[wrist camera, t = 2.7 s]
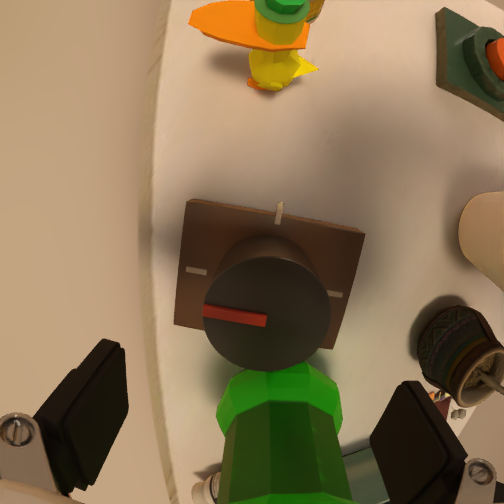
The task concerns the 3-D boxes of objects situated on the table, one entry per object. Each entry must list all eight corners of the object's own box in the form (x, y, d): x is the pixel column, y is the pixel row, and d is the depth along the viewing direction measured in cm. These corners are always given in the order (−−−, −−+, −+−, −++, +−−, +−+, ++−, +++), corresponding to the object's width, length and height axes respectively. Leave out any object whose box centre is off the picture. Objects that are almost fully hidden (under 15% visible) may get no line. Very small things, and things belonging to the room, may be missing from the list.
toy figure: (209, 91, 19) (156, 12, 8) (221, 49, 19) (185, -52, 7) (303, 110, 20) (351, 42, 8) (312, 66, 19) (360, -26, 7)
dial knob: (324, 243, 20) (347, 270, 14) (302, 332, 21) (314, 381, 16) (224, 226, 20) (209, 246, 14) (210, 317, 21) (195, 364, 16)
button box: (511, 59, 17) (532, 52, 13) (514, 128, 18) (538, 126, 15) (435, 13, 16) (453, -2, 13) (436, 85, 18) (459, 76, 15)
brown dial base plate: (359, 216, 21) (369, 220, 19) (325, 346, 24) (330, 360, 22) (194, 186, 21) (187, 187, 19) (178, 323, 24) (172, 336, 22)
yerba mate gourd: (427, 288, 22) (498, 345, 13) (482, 303, 23) (546, 352, 13) (394, 360, 24) (440, 435, 14) (450, 367, 24) (499, 428, 15)
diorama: (466, 361, 24) (483, 379, 21) (434, 482, 30) (441, 497, 27) (390, 394, 25) (403, 417, 21) (381, 503, 31) (386, 520, 28)
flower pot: (336, 486, 29) (346, 540, 21) (317, 454, 27) (328, 519, 19) (400, 461, 28) (421, 513, 20) (393, 425, 26) (419, 486, 18)
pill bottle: (289, 504, 24) (217, 519, 26) (282, 466, 29) (215, 484, 30) (263, 497, 22) (186, 510, 23) (258, 452, 26) (187, 472, 28)
